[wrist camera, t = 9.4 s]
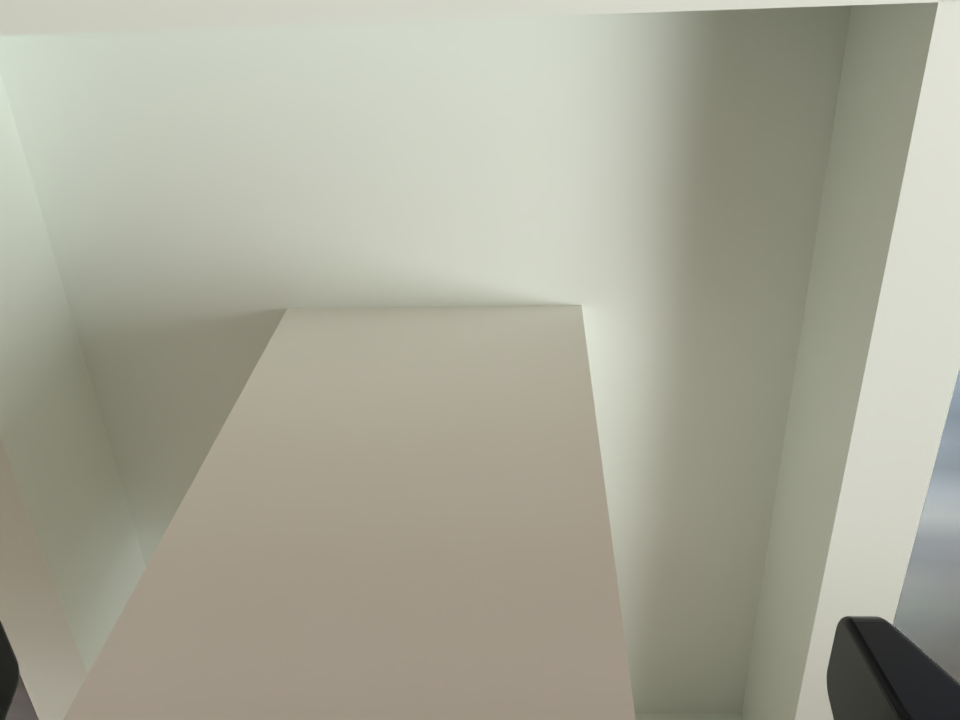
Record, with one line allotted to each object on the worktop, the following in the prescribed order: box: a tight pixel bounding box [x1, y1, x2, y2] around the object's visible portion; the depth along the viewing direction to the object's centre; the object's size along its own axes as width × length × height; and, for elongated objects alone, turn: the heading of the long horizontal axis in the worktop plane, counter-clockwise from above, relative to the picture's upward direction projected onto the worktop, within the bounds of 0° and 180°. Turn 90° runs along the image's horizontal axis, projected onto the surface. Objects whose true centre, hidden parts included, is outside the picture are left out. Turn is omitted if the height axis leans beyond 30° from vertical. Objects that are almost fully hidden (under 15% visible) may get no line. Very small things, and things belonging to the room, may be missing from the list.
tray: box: [0, 0, 960, 720], centre depth 12 cm, size 12×14×3 cm
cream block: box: [63, 305, 635, 720], centre depth 9 cm, size 4×4×9 cm
